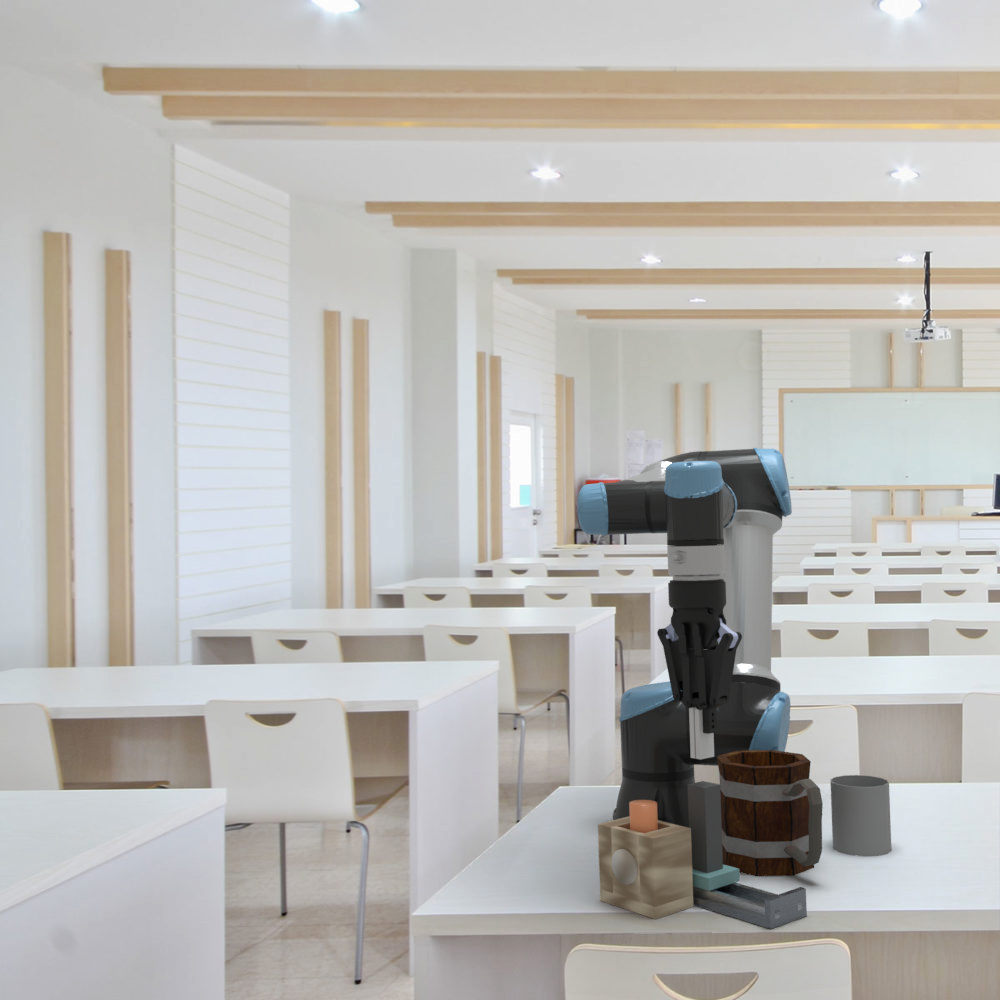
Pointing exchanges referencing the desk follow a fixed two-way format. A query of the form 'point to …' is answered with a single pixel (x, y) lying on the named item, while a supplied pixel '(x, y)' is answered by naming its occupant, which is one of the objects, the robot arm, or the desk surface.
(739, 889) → the rail track
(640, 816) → the orange cylinder
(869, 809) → the cup
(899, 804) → the desk surface
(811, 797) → the mug
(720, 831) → the carriage
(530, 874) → the desk surface
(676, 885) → the wooden box
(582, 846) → the desk surface
